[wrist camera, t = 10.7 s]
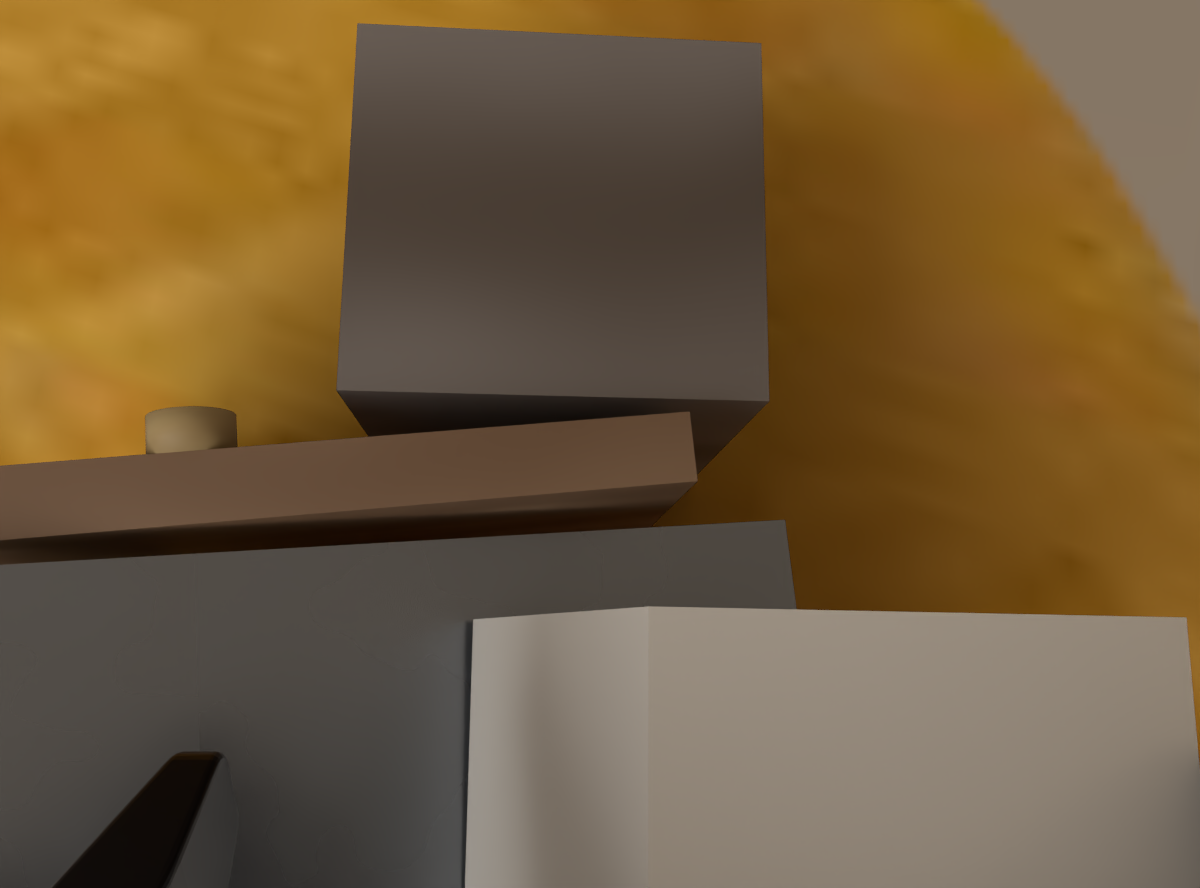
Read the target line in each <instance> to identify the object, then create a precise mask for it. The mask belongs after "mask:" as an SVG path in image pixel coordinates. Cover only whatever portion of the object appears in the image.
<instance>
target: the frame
mask: <svg viewBox="0 0 1200 888" xmlns="http://www.w3.org/2000/svg"><path fill="white" fill-rule="evenodd" d="M145 424H146V454H145V455H132V456H119V457H107V458H94V459H81V460H69V461H56V462H43V463H30V464H18V465H5V466H0V565H7V564H24V563H42V562H59V561H76V560H94V559H111V558H128V557H146V556H163V555H181V554H198V553H215V552H233V551H250V550H268V549H285V548H302V547H320V546H337V545H355V544H372V543H389V542H407V541H424V540H442V539H459V538H476V537H494V536H511V535H528V534H546V533H563V532H581V531H598V530H615V529H633V528H650V527H651V526H652V525H653V524H654V523H655V522H656V521H657V520H658V519H659V518H660V517H661V516H662V515H663V514H665V513H666V512H667V511H668V510H669V509H670V508H671V507H672V506H673V505H674V504H675V503H676V502H677V501H678V500H679V499H680V498H681V497H682V496H683V495H684V494H685V493H686V492H687V491H688V490H689V489H690V488H691V487H692V486H693V485H694V484H695V483H696V482H697V481H698V480H697V471H696V462H695V453H694V445H693V436H692V427H691V419H690V412H677V413H665V414H652V415H639V416H627V417H614V418H601V419H589V420H576V421H563V422H551V423H538V424H525V425H513V426H500V427H487V428H474V429H462V430H449V431H436V432H424V433H411V434H398V435H386V436H373V437H360V438H348V439H335V440H322V441H310V442H297V443H284V444H271V445H259V446H246V447H237V424H236V414H235V413H234V412H232V411H229V410H226V409H221V408H214V407H199V406H188V407H172V408H165V409H160V410H156V411H152V412H150V413H148V414H147V415H146V416H145Z"/></svg>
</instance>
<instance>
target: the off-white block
mask: <svg viewBox="0 0 1200 888" xmlns="http://www.w3.org/2000/svg"><path fill="white" fill-rule="evenodd" d="M465 888H1200V767H1199V756H1198V744H1197V733H1196V721H1195V710H1194V698H1193V687H1192V676H1191V664H1190V653H1189V641H1188V630H1187V618H1186V617H1137V616H1089V615H1040V614H991V613H943V612H894V611H845V610H797V609H748V608H700V607H651V606H648V607H634V608H621V609H607V610H594V611H580V612H567V613H553V614H540V615H526V616H512V617H499V618H485V619H473V642H472V675H471V707H470V739H469V772H468V804H467V836H466V869H465Z"/></svg>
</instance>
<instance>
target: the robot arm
mask: <svg viewBox="0 0 1200 888" xmlns="http://www.w3.org/2000/svg"><path fill="white" fill-rule="evenodd" d="M237 832H238V810H237V804H236V799H235V795H234V790H233V785H232V780H231V775H230V770H229V765H228V761H227V759H226V757H225V756H224V754H222V753H221V752H217V751H184V752H179V753H177V754H175V755H173V756H172V757H170V758H169V759H168V760H167V761H166V763H165V764H164V765H163V766H162V767H161V768H160V769H159V770H158V771H157V772H156V773H155V774H154V776H153V777H152V778H151V779H150V780H149V781H148V782H147V783H146V784H145V785H144V786H143V787H142V789H141V790H140V791H139V792H138V793H137V794H136V795H135V796H134V797H133V798H132V799H131V800H130V802H129V803H128V804H127V805H126V806H125V807H124V808H123V809H122V810H121V811H120V812H119V813H118V815H117V816H116V817H115V818H114V819H113V820H112V821H111V822H110V823H109V824H108V825H107V827H106V828H105V829H104V830H103V831H102V832H101V833H100V834H99V835H98V836H97V837H96V838H95V840H94V841H93V842H92V843H91V844H90V845H89V846H88V847H87V848H86V849H85V850H84V851H83V853H82V854H81V855H80V856H79V857H78V858H77V859H76V860H75V861H74V862H73V863H72V864H71V866H70V867H69V868H68V869H67V870H66V871H65V872H64V873H63V874H62V875H61V876H60V877H59V879H58V880H57V881H56V882H55V883H54V884H53V885H52V886H51V887H50V888H228V885H229V879H230V874H231V868H232V862H233V857H234V851H235V845H236V839H237Z"/></svg>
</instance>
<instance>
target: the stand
mask: <svg viewBox="0 0 1200 888" xmlns="http://www.w3.org/2000/svg"><path fill="white" fill-rule="evenodd" d="M336 390H337V392H338V393H339V395H340V396H341V397H342V399H343V400H344V402H345V403H346V405H347V406H348V408H349V409H350V410H351V412H352V413H353V415H354V416H355V418H356V419H357V420H358V422H359V423H360V425H361V426H362V428H363V429H364V430H365V432H366V433H367V435H368V436H369V437H373V436H386V435H398V434H411V433H424V432H436V431H449V430H462V429H474V428H487V427H500V426H513V425H525V424H538V423H551V422H563V421H576V420H589V419H601V418H614V417H627V416H639V415H652V414H665V413H677V412H690V419H691V427H692V436H693V445H694V453H695V462H696V471H697V474H698V473H699V472H700V471H701V470H702V469H703V468H704V467H705V466H706V465H707V464H708V463H709V462H710V461H711V460H712V459H713V458H714V457H715V456H716V455H717V454H718V453H719V452H720V451H721V450H722V449H723V448H724V447H725V446H726V445H727V444H728V443H729V442H730V441H731V440H732V439H733V438H734V437H735V436H736V435H737V434H738V433H739V431H740V430H741V429H742V428H743V427H744V426H745V425H746V424H747V423H748V422H749V421H750V420H751V419H752V418H753V417H754V416H755V415H756V414H757V413H758V412H759V411H760V410H761V409H762V408H763V407H764V406H765V405H766V404H767V403H768V402H769V367H768V323H767V279H766V234H765V190H764V146H763V102H762V58H761V43H746V42H726V41H705V40H685V39H665V38H644V37H624V36H603V35H583V34H562V33H542V32H522V31H501V30H481V29H460V28H440V27H420V26H399V25H379V24H358V25H357V42H356V59H355V77H354V94H353V111H352V129H351V146H350V163H349V181H348V198H347V216H346V233H345V250H344V268H343V285H342V302H341V320H340V337H339V354H338V372H337V389H336Z"/></svg>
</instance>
